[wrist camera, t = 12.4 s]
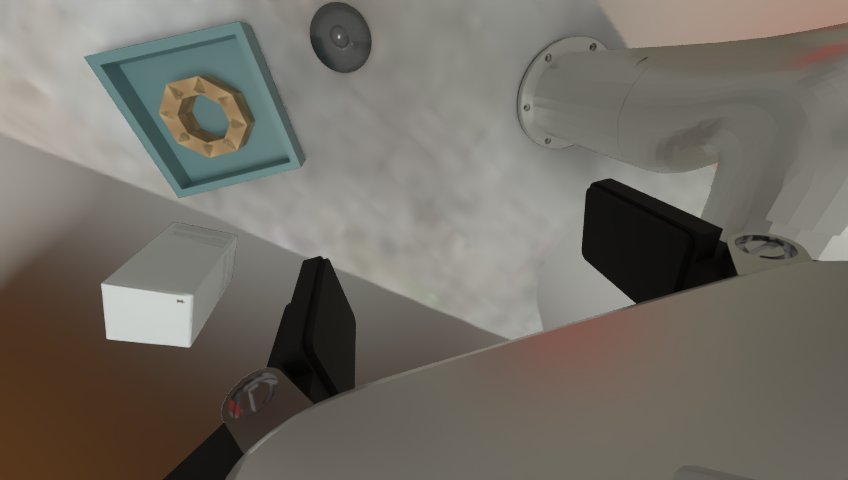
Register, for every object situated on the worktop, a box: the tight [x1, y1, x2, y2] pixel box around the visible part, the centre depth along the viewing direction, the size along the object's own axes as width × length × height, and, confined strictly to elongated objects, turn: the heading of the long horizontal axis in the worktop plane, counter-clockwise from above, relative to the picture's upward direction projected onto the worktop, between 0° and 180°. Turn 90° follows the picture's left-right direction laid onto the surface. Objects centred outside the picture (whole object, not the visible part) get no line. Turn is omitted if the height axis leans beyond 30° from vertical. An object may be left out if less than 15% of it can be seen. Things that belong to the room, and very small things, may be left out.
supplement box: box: [101, 222, 238, 347], centre depth 35 cm, size 7×7×13 cm
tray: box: [84, 22, 306, 198], centre depth 32 cm, size 14×14×3 cm
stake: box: [310, 2, 371, 73], centre depth 30 cm, size 6×6×5 cm
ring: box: [159, 75, 255, 158], centre depth 31 cm, size 7×7×3 cm
